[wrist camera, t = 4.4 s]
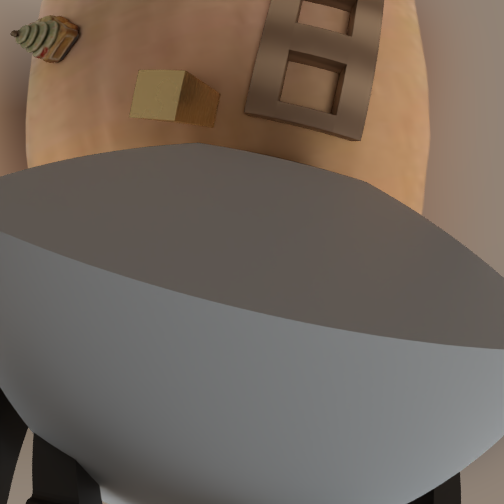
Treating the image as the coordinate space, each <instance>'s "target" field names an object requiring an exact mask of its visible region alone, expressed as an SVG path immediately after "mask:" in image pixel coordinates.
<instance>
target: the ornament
mask: <svg viewBox="0 0 504 504" xmlns="http://www.w3.org/2000/svg"><path fill="white" fill-rule="evenodd" d="M11 35H12V36H14V37H16V42H17V44H20V45H21V47H22V48H26V51H27V52H29V53H31V52H33V56H34V57H37V58H40V59H43V60H44V61H46V62H49V63H54V62H59V61H61V60H62V59H63V58H64V57H65V55H66V54H67V52H68V51H69V49H70V48H71V47H72V45H73V44H74V43H75V41H76V40H77V38H78V37H79V34H78V26H76V25H75V24H72V23H70V22H69V20H67V19H66V18H64V17H61V16H57V17H56V16H52V15H50V16H45V17H43V18H41V19H39V20H37V21H36V22H33V23H30V24H29V25H25V26H23V27H22V28H21V29H20V30H18V31H15V30H14V31H12V32H11Z"/></svg>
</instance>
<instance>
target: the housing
mask: <svg viewBox="0 0 504 504" xmlns="http://www.w3.org/2000/svg"><path fill="white" fill-rule="evenodd" d="M0 388H1V389H2V391H3V392H4V394H5V395H6V397H7V398H8V400H9V401H10V403H11V404H12V406H13V407H14V409H15V410H16V411H17V413H18V414H19V415H20V417H21V418H22V419H23V421H24V422H25V423H26V425H27V426H28V427H29V428H30V430H31V431H32V432H33V433H36V434H37V435H38V436H40V437H41V438H43V439H44V440H46V441H47V442H48V443H50V444H51V445H53V446H55V447H56V448H58V449H59V450H61V451H62V452H64V453H66V454H67V455H69V456H71V457H72V458H74V459H76V460H77V462H78V463H79V464H80V465H81V466H82V467H83V468H84V469H85V471H86V472H87V473H88V474H89V475H90V476H91V477H92V478H93V479H94V480H95V481H96V482H97V483H98V484H99V485H100V492H101V499H102V501H104V502H106V503H108V504H407V503H409V502H411V501H413V500H415V499H417V498H419V497H420V496H422V495H424V494H426V493H427V492H429V491H431V490H432V489H434V488H436V487H437V486H439V485H440V484H442V483H444V482H445V481H447V480H448V479H450V478H451V477H453V476H454V475H455V474H457V473H458V472H460V471H461V470H463V469H464V468H465V467H467V466H468V465H469V464H471V463H472V462H473V461H474V460H476V459H477V458H478V457H479V456H481V455H482V454H483V453H484V452H486V451H487V450H488V449H489V448H490V447H491V446H493V445H494V444H495V443H496V442H497V441H498V440H499V439H500V438H501V437H502V436H504V278H503V277H502V276H501V275H500V274H499V273H498V272H496V271H495V270H494V269H493V268H492V267H490V266H489V265H488V264H487V263H486V262H484V261H483V260H482V259H481V258H479V257H478V256H477V255H475V254H474V253H473V252H472V251H470V250H469V249H468V248H467V247H465V246H464V245H462V244H461V243H460V242H459V241H457V240H456V239H455V238H453V237H452V236H451V235H449V234H448V233H446V232H445V231H443V230H442V229H441V228H439V227H437V226H436V225H435V224H433V223H432V222H431V221H429V220H428V219H426V218H425V217H423V216H422V215H420V214H419V213H417V212H415V211H414V210H412V209H411V208H409V207H408V206H406V205H404V204H403V203H401V202H400V201H398V200H396V199H395V198H393V197H391V196H390V195H388V194H386V193H385V192H383V191H381V190H379V189H378V188H376V187H374V186H372V185H371V184H369V183H367V182H364V181H361V180H358V179H355V178H352V177H348V176H345V175H341V174H338V173H335V172H331V171H328V170H324V169H320V168H317V167H313V166H309V165H305V164H301V163H297V162H293V161H289V160H285V159H280V158H276V157H272V156H267V155H262V154H258V153H253V152H248V151H243V150H238V149H232V148H227V147H221V146H215V145H209V144H203V143H186V144H173V145H161V146H151V147H142V148H134V149H126V150H119V151H112V152H106V153H100V154H94V155H88V156H83V157H77V158H72V159H67V160H63V161H58V162H54V163H49V164H45V165H41V166H37V167H33V168H29V169H25V170H22V171H18V172H15V173H11V174H8V175H5V176H2V177H0Z"/></svg>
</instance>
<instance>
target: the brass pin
mask: <svg viewBox="0 0 504 504" xmlns="http://www.w3.org/2000/svg"><path fill="white" fill-rule="evenodd" d="M219 98H220V94H219V93H218V92H216V91H215V90H214V89H212V88H211V87H209V86H208V85H206V84H205V83H203V82H202V81H200V80H199V79H197V78H196V77H194V76H193V75H191V74H190V73H188V72H187V71H185V70H139V72H138V76H137V81H136V85H135V90H134V95H133V100H132V105H131V110H130V116H129V117H131V118H141V119H151V120H159V121H167V122H175V123H182V124H190V125H198V126H206V127H212V128H213V127H214V122H215V117H216V112H217V107H218V103H219Z"/></svg>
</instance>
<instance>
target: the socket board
mask: <svg viewBox="0 0 504 504" xmlns="http://www.w3.org/2000/svg"><path fill="white" fill-rule="evenodd" d="M305 1H310V2H314V3H318V4H323V5H327V6H331V7H334V8H338V9H342V10H345V11H348V12H351V13H350V19H349V25H348V31H347V35H344V34H341V33H337V32H334V31H330V30H326V29H322V28H318V27H314V26H310V25H305V24H300V23H297V22H298V18H299V13H300V9H301V5H302V0H271V3H270V7H269V10H268V14H267V18H266V22H265V26H264V30H263V34H262V38H261V42H260V46H259V50H258V54H257V58H256V62H255V66H254V70H253V75H252V79H251V83H250V88H249V92H248V97H247V101H246V106H245V110H244V112H245V113H246V114H248V115H249V116H252V117H258V118H263V119H268V120H273V121H277V122H282V123H286V124H291V125H295V126H299V127H303V128H307V129H311V130H315V131H319V132H322V133H326V134H329V135H333V136H336V137H340V138H343V139H346V140H349V141H361V137H362V133H363V129H364V124H365V120H366V115H367V110H368V105H369V100H370V95H371V90H372V84H373V79H374V73H375V67H376V61H377V55H378V48H379V41H380V33H381V25H382V17H383V7H384V0H305ZM289 61H292V62H297V63H301V64H306V65H310V66H314V67H318V68H322V69H326V70H329V71H333V72H336V73H340V74H339V79H338V84H337V89H336V94H335V99H334V103H333V108H332V112H331V114H329V113H325V112H322V111H318V110H314V109H310V108H306V107H302V106H298V105H294V104H289V103H285V102H280V97H281V93H282V89H283V84H284V80H285V75H286V71H287V66H288V62H289Z"/></svg>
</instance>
